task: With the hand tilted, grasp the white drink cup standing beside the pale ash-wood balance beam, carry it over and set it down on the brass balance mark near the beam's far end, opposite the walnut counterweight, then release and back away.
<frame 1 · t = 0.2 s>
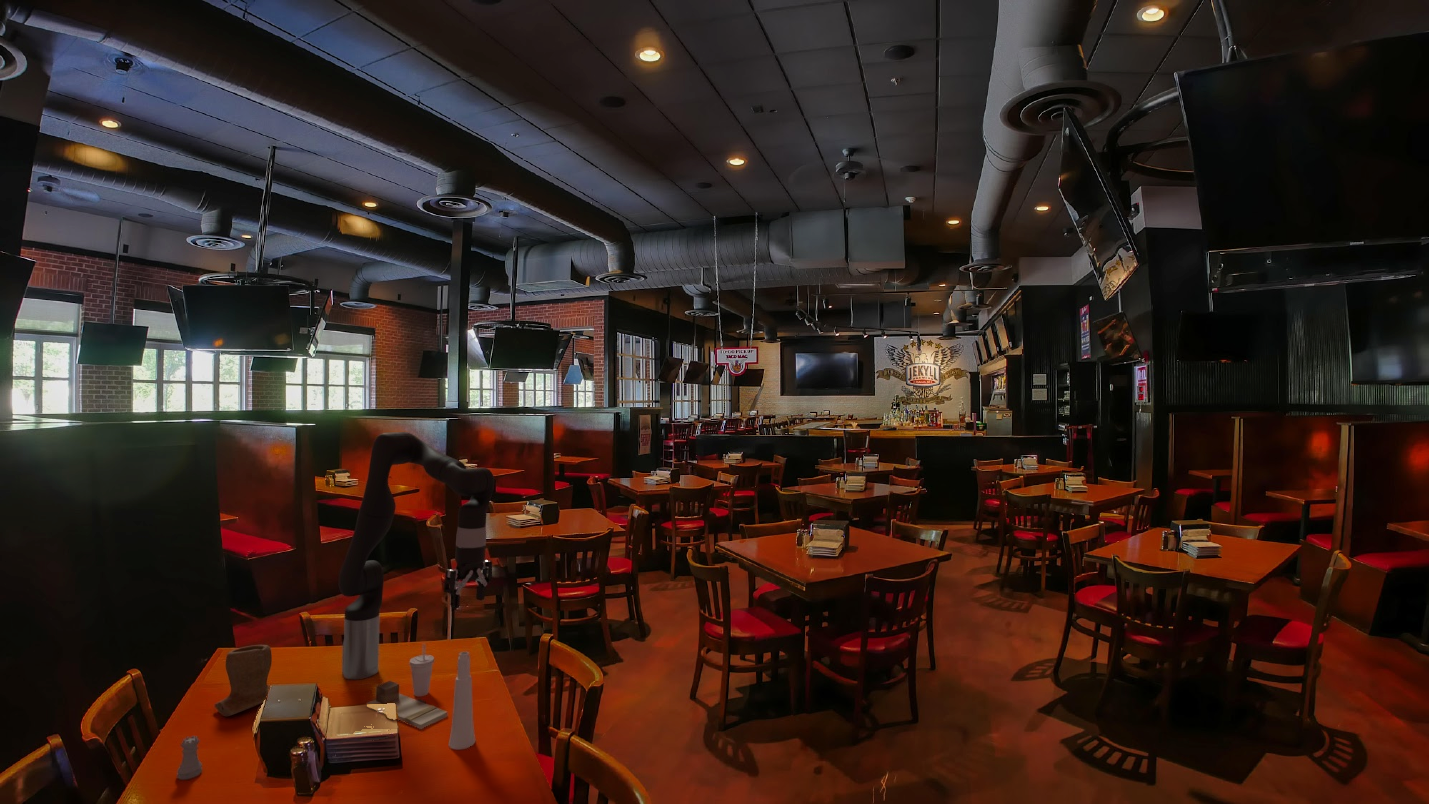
hand: (467, 603, 178), 29 cm above the table, tool pointing down, fingers open, 8 cm apart
cosmetic bottle: (462, 744, 162), on the table
rook chess piece: (189, 775, 146), on the table
white drink cup: (421, 694, 187), on the table
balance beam: (406, 711, 176), on the table
brown boot: (245, 705, 178), on the table
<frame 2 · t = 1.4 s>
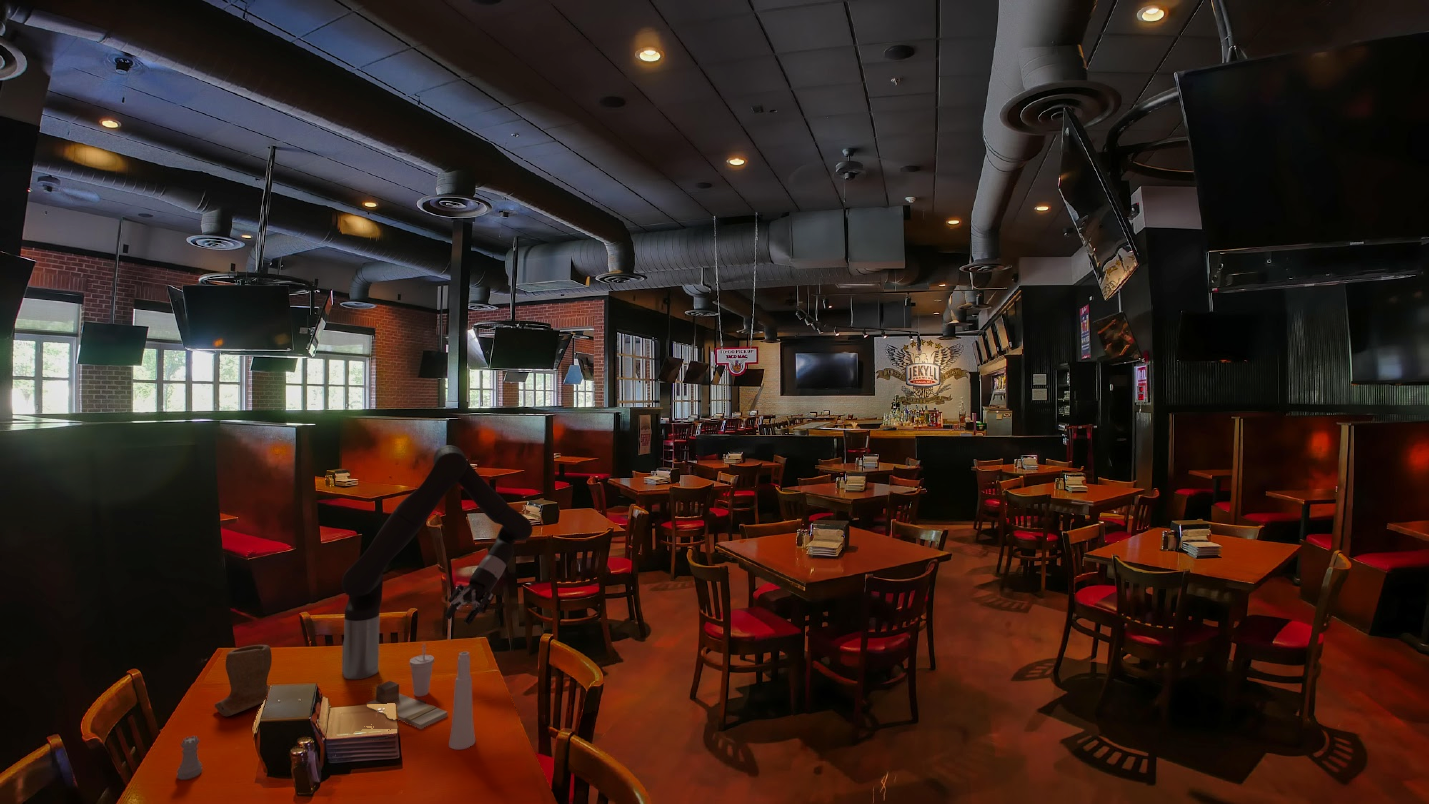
hand: (456, 620, 197), 17 cm above the table, tool tilted 45°, fingers open, 8 cm apart
nothing on the table moved.
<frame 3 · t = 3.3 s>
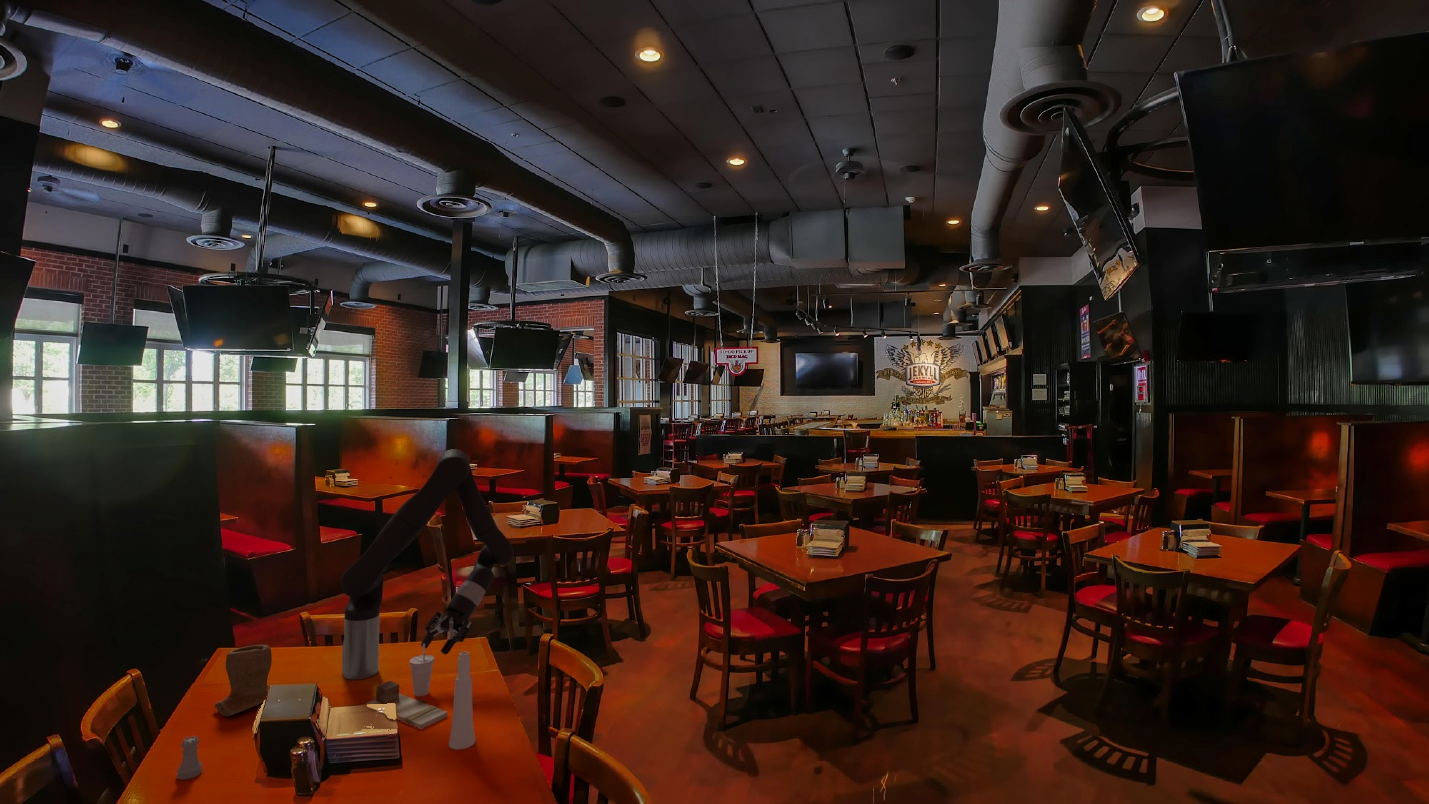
hand: (433, 650, 190), 11 cm above the table, tool tilted 45°, fingers open, 8 cm apart
nothing on the table moved.
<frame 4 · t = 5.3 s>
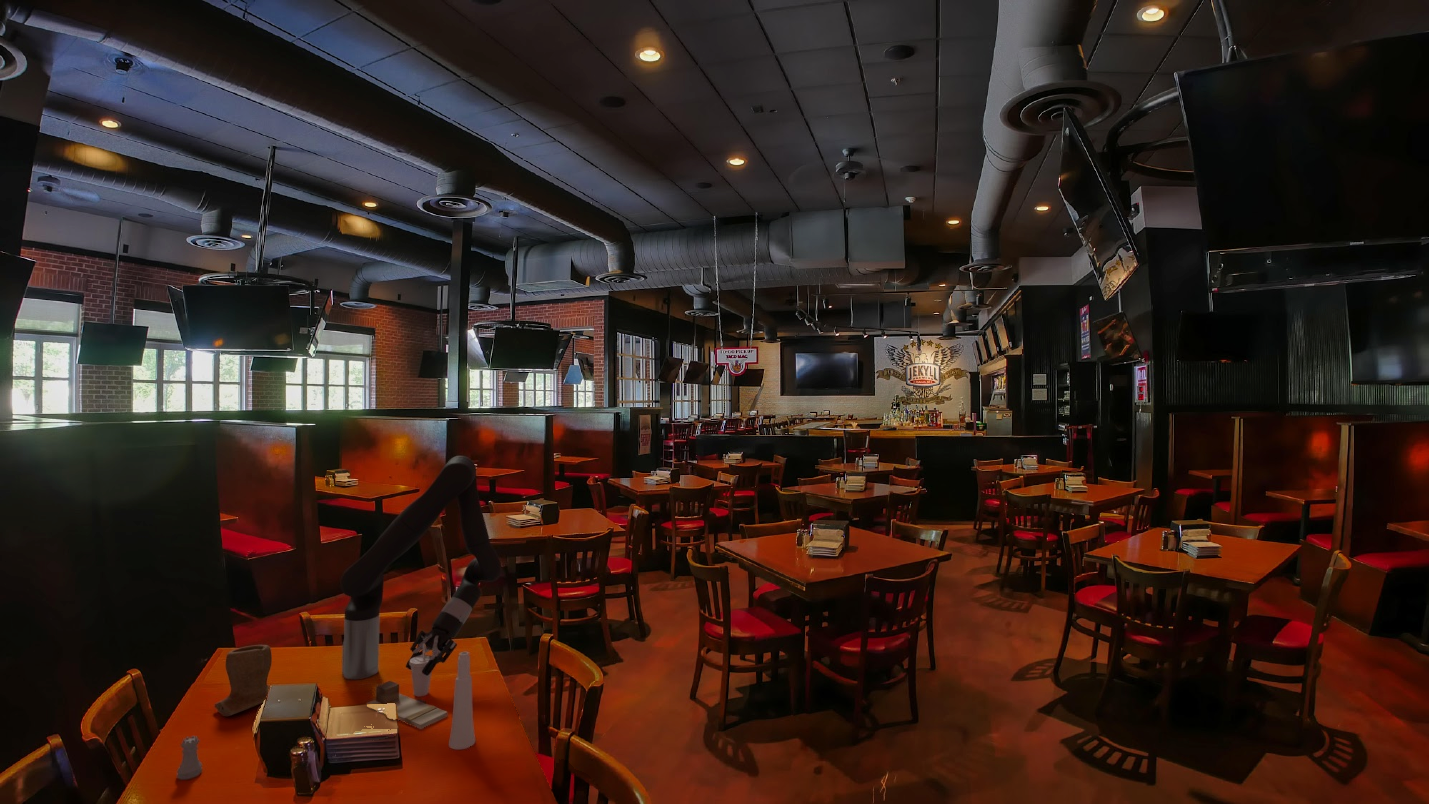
hand: (416, 671, 186), 7 cm above the table, tool tilted 45°, fingers closed on white drink cup, 6 cm apart
white drink cup: (421, 694, 187), on the table, touching gripper
everything else where it was.
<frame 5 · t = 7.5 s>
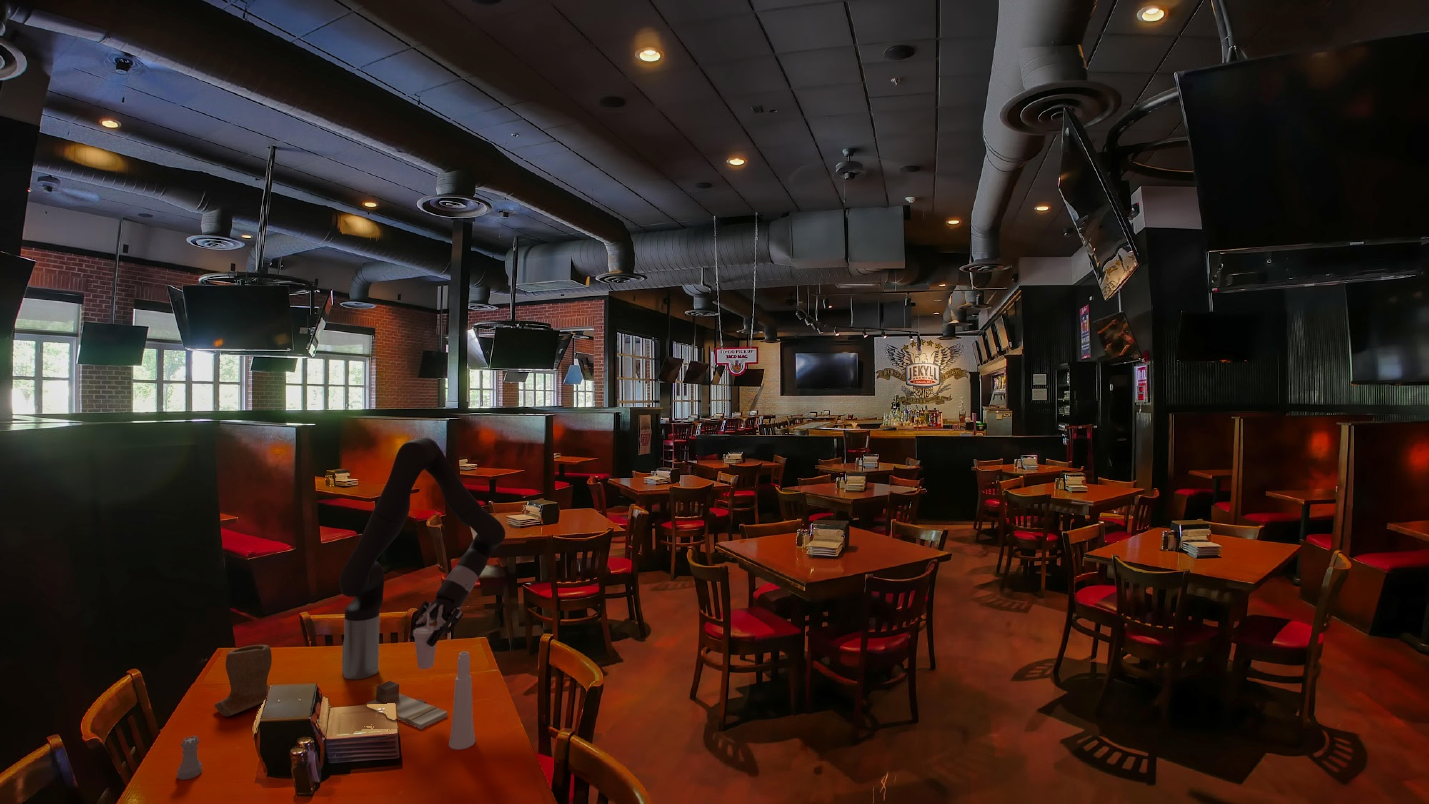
hand: (420, 642, 174), 19 cm above the table, tool tilted 45°, fingers closed on white drink cup, 6 cm apart
white drink cup: (425, 666, 176), point 12 cm above the table, touching gripper
everything else where it was.
when the fingers open (9 cm above the table, at t = 10.2 s): white drink cup stays where it is, resting on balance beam.
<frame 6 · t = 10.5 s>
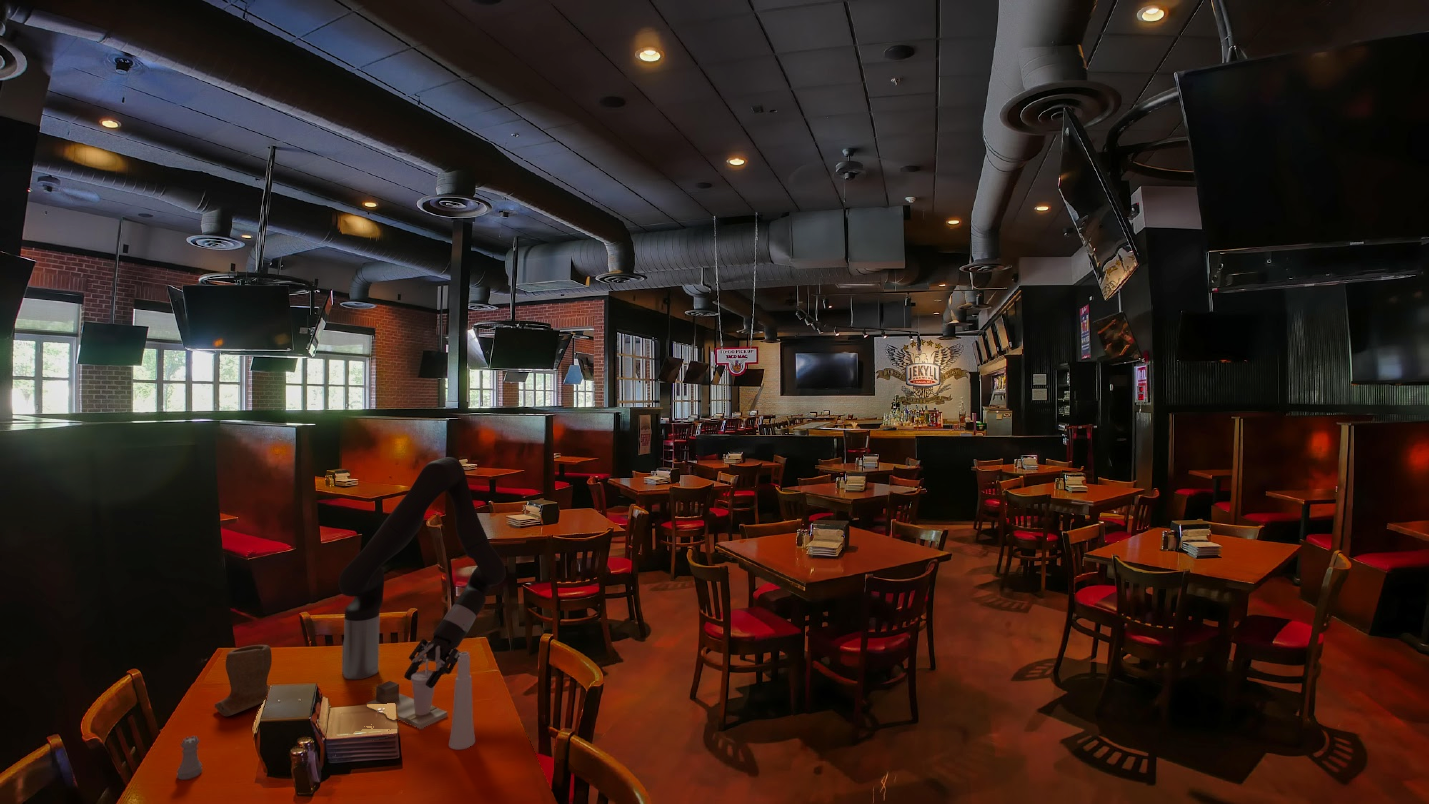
hand: (417, 682, 172), 10 cm above the table, tool tilted 45°, fingers open, 8 cm apart
white drink cup: (422, 712, 174), point 1 cm above the table, touching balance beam
everything else where it was.
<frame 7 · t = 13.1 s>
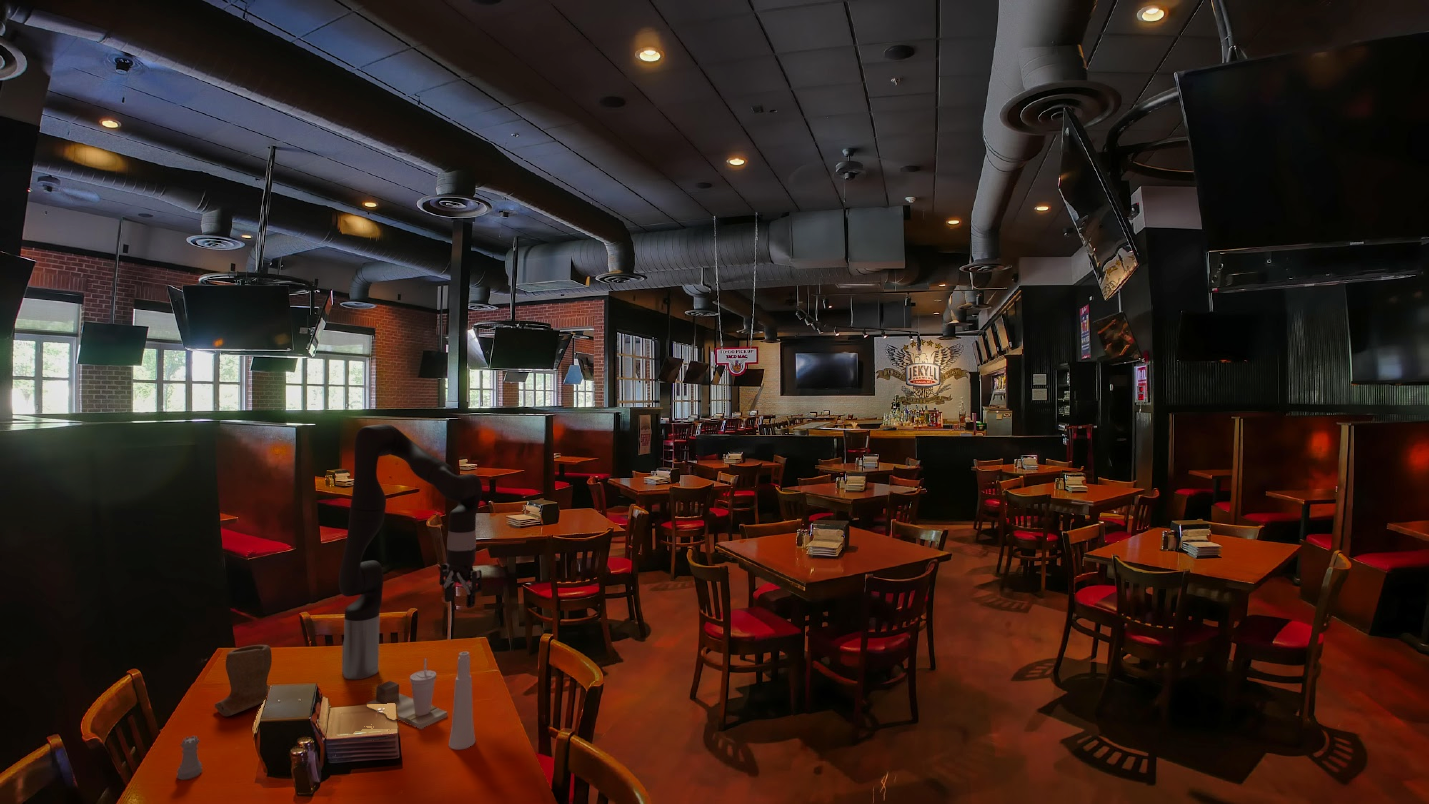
hand: (459, 604, 186), 26 cm above the table, tool pointing down, fingers open, 8 cm apart
nothing on the table moved.
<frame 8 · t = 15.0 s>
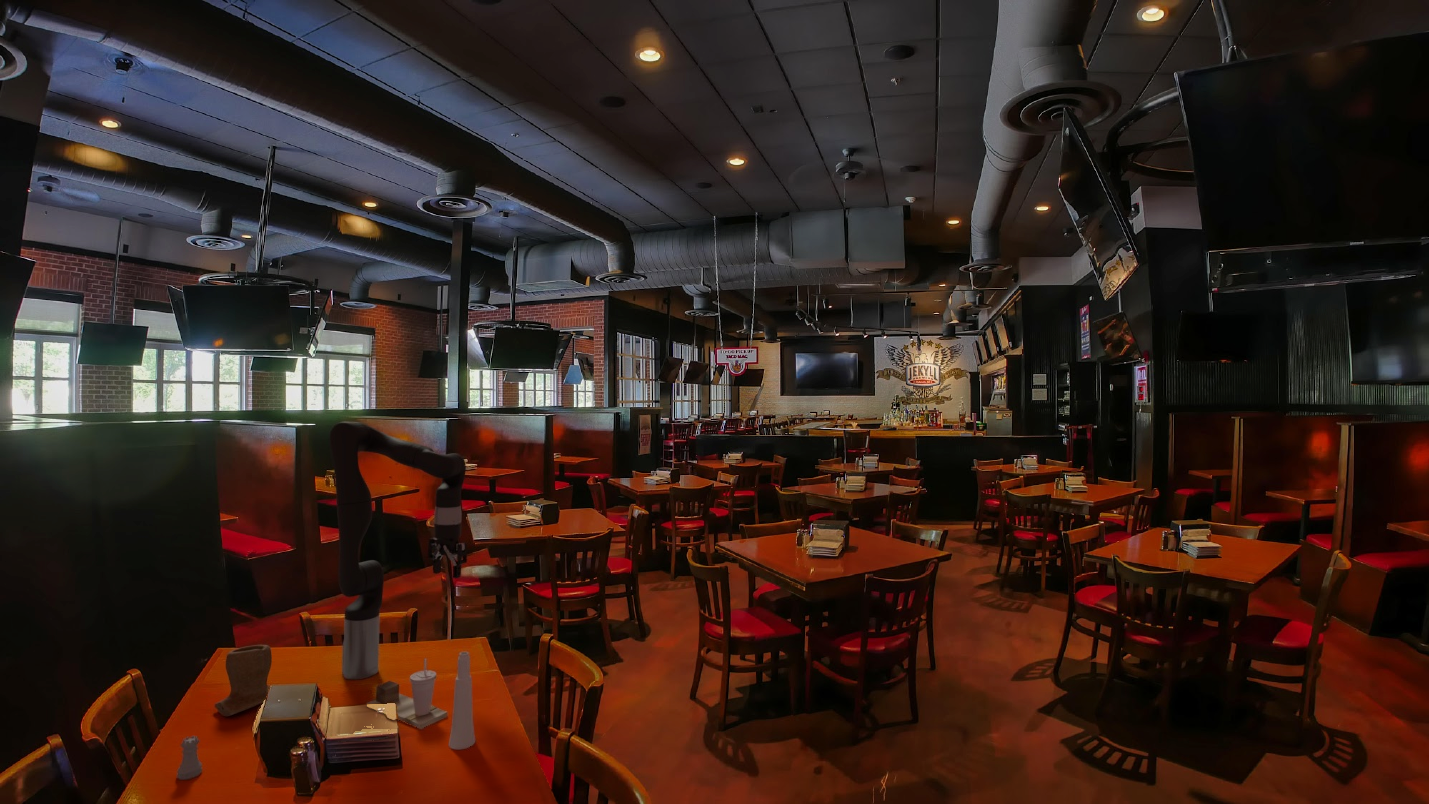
hand: (446, 575, 198), 30 cm above the table, tool pointing down, fingers open, 8 cm apart
nothing on the table moved.
at the end: white drink cup inside the target area (0.2 cm from its centre), point 1.2 cm above the table; white drink cup tilted 0°; the gripper is holding nothing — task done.
